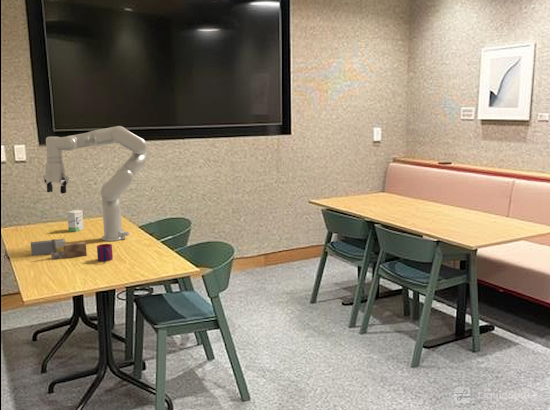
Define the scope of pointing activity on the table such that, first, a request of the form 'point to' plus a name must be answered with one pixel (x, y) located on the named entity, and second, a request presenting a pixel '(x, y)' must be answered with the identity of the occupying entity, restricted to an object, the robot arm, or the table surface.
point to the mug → (104, 252)
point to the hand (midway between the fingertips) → (56, 192)
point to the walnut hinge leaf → (69, 250)
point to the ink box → (75, 220)
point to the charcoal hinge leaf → (45, 246)
